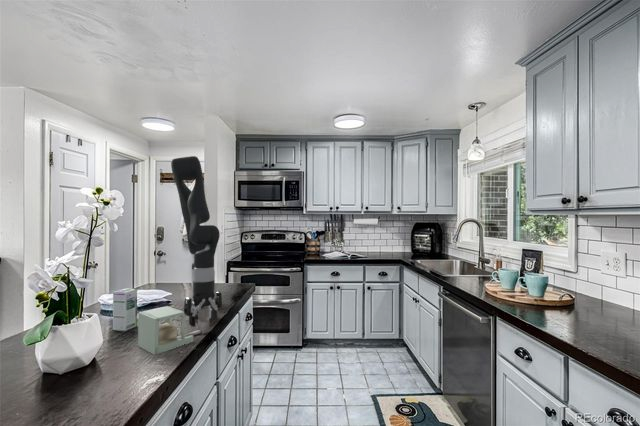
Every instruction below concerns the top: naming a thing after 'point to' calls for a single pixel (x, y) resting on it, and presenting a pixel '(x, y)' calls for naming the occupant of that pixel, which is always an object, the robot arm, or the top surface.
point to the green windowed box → (150, 329)
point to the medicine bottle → (197, 312)
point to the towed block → (170, 333)
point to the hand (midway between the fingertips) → (203, 323)
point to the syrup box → (124, 309)
